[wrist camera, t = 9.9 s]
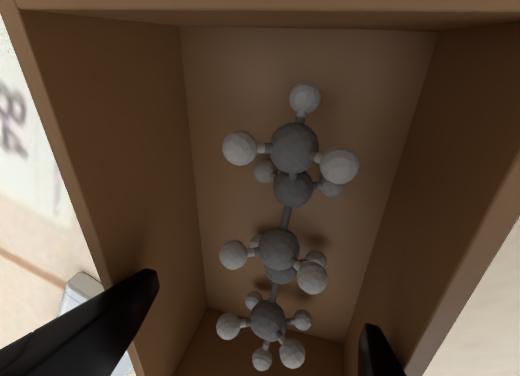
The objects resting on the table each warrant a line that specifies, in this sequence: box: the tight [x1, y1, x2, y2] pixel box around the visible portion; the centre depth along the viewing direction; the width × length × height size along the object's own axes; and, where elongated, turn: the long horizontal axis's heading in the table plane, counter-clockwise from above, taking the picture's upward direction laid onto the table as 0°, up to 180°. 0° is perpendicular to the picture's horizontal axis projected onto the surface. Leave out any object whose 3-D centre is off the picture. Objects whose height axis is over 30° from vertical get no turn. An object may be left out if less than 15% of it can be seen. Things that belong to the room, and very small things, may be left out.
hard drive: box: [57, 272, 133, 376], centre depth 24 cm, size 2×8×12 cm
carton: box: [0, 0, 520, 376], centre depth 11 cm, size 18×10×6 cm, turn 178°
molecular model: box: [216, 82, 360, 371], centre depth 11 cm, size 14×4×5 cm, turn 176°
